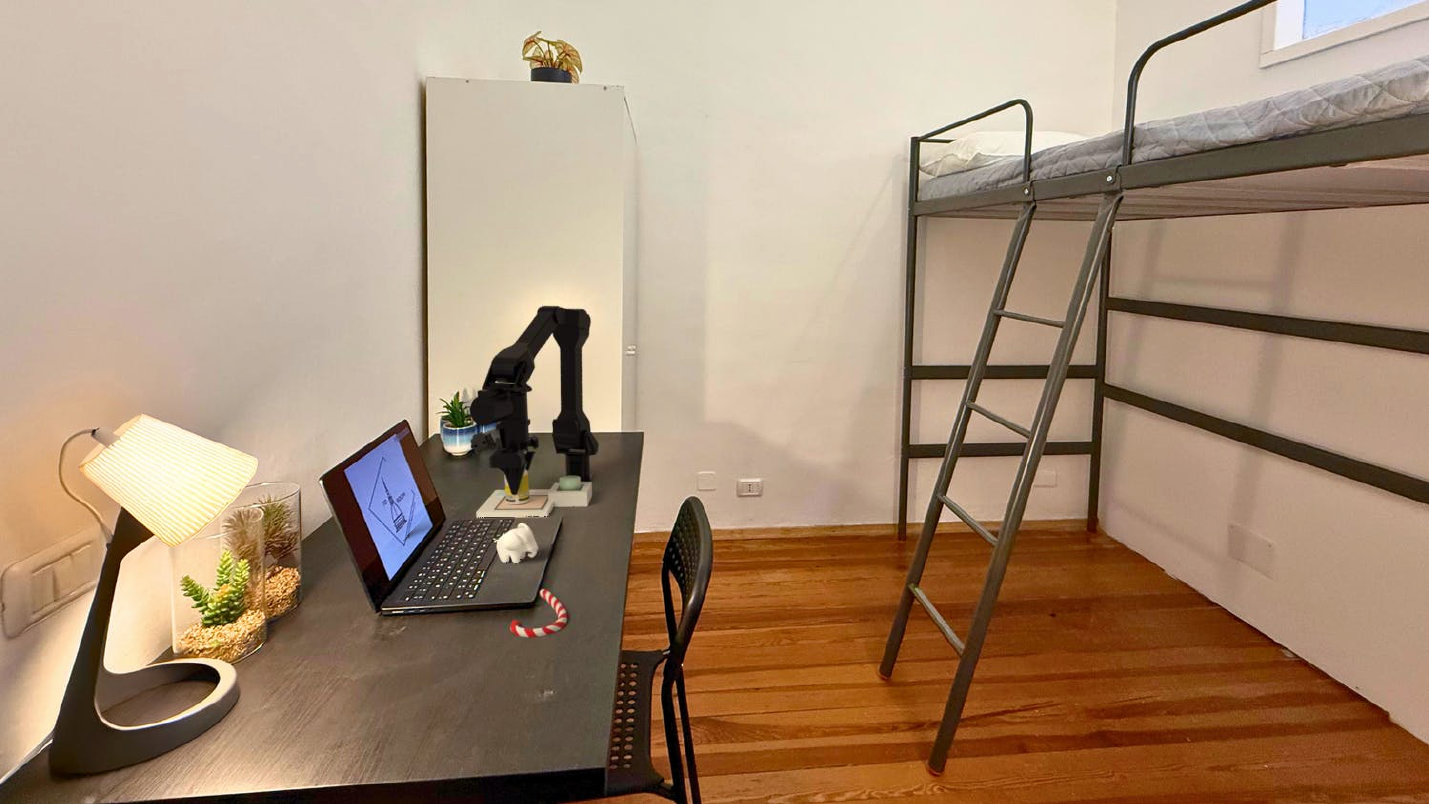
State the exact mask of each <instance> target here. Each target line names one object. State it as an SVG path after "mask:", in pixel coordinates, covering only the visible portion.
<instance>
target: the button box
mask: <svg viewBox="0 0 1429 804" xmlns="http://www.w3.org/2000/svg"><path fill="white" fill-rule="evenodd" d="M592 486H593V483H592V481H590V482H581V490H579V491H560V482H554V483H553V484H552V486H551V487H550V488H549V489H550V491H549V492H548V501H553V508H557V507H559V508H560V507H561V508H564V507H565V508H566V507H571V508H572V507H573V506H574V507H588V506H589V503H590V502H591V499H592V496H593V487H592Z"/></svg>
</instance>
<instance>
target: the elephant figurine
mask: <svg viewBox="0 0 1429 804" xmlns="http://www.w3.org/2000/svg"><path fill="white" fill-rule="evenodd" d="M492 540H494V541H496V550H497V553H498V557H499V559H500V561H501V562H502V563H504V564H506V562H507V563H509V561H510V560H511V562H512V563H513V564H515V563H517V564H520V563H521V560H520V559H523V558H524V557H526V552H528V554H527V557H529V558H534V557H535V556H536V555H537V554H538V553H537V552H538V550H540V548H539V546H538V543H537V542H536V539H535V535H534V533H533V531H532V529H531V528H530V527H529V525H527V524H526V523H525V522H521V523H518V525H517V527H516V528H512V529H509V530H508V531H506V532H505V533H504V534H503V535H502V536H500V537H499V538H498V539H495V538H494V537H493V539H492ZM509 558H511V559H509ZM524 559H525V558H524ZM524 559H523V560H524ZM519 562H520V563H519Z"/></svg>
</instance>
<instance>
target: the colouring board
mask: <svg viewBox="0 0 1429 804" xmlns="http://www.w3.org/2000/svg"><path fill="white" fill-rule="evenodd" d="M550 489H551V488H549V489H545V488H544V489H529V501H528V502H526V503H523V504H514V505H513V504H508V503H507V502H506V495H505V489H495V490H494V491H493V493H492V494H491V495H490V496H489V497H488V498H487V499H486V500H485V502H484V503H483V504H482V505H481V506H480V507H479V509H478V510H476V519H485V518H484V517H515V518H529V517H528V516H532V517H531V518H534V517H533V516H539V517H538V518H548V517H549V515H550V514H551V512H552V510H553V509H554V507H553V501H548V492H549V491H550ZM549 513H550V514H549ZM526 516H527V517H526ZM544 516H546V517H544ZM547 516H548V517H547ZM478 517H479V518H478ZM480 517H481V518H480ZM482 517H483V518H482Z"/></svg>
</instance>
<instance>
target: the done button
mask: <svg viewBox="0 0 1429 804" xmlns="http://www.w3.org/2000/svg"><path fill="white" fill-rule="evenodd" d="M559 483H560V491H579V490H581V478H580V477H579V476H565V475H564V476H561V477H560V478H559Z"/></svg>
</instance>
